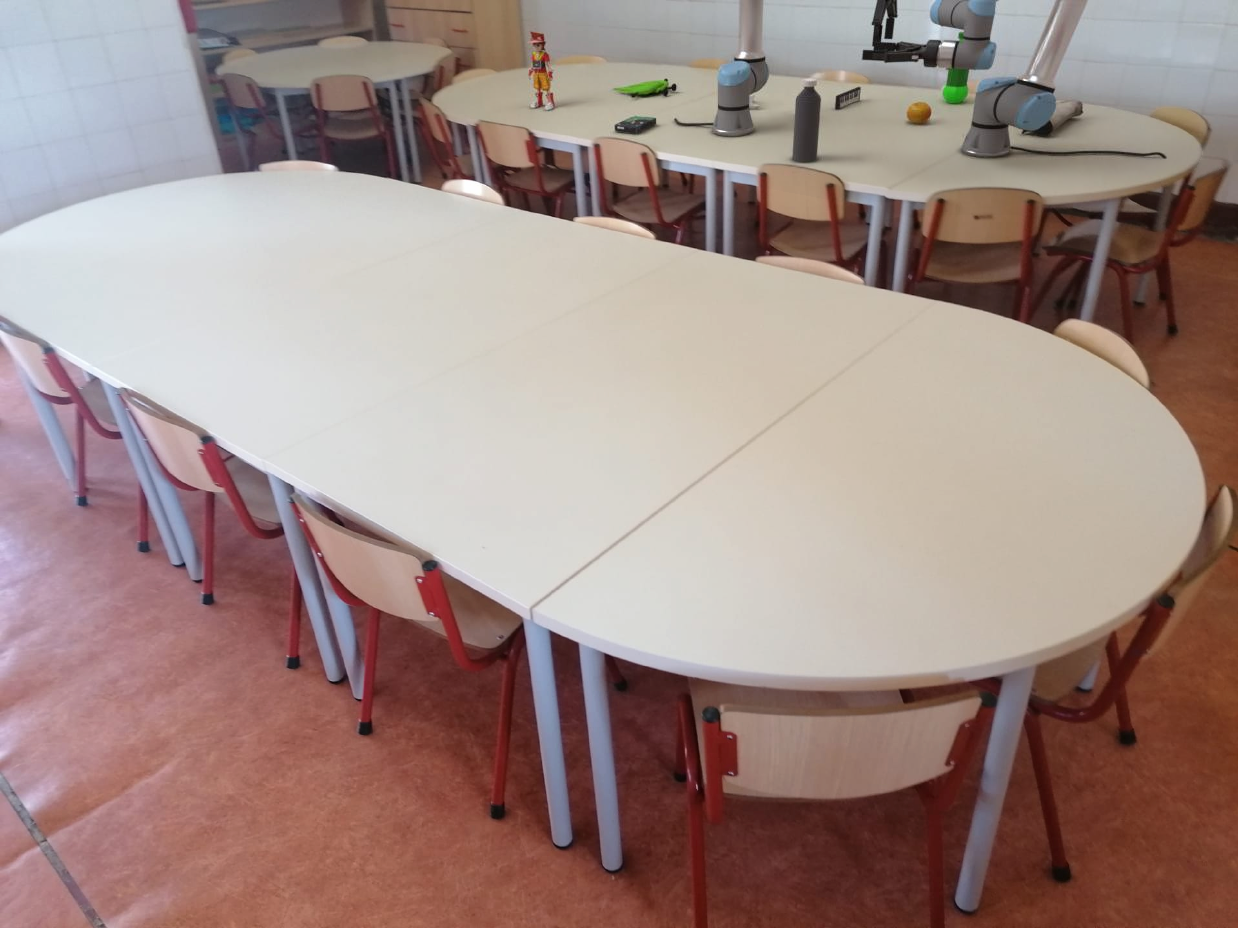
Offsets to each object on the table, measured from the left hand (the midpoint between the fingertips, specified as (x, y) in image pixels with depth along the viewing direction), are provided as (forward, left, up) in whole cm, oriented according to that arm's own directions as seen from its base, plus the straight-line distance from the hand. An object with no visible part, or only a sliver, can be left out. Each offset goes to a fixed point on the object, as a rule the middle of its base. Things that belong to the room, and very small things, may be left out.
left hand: (882, 43), depth 307 cm
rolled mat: (+56, +30, -30) cm, 70 cm away
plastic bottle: (+16, +54, -30) cm, 64 cm away
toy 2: (-115, +32, -30) cm, 123 cm away
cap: (-12, -37, -5) cm, 39 cm away
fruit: (+11, +20, -30) cm, 38 cm away
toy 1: (-142, -6, -30) cm, 145 cm away
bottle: (-12, -37, -30) cm, 49 cm away
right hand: (+7, -38, +4) cm, 39 cm away
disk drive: (-86, -22, -30) cm, 94 cm away
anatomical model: (-61, +23, -30) cm, 72 cm away
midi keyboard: (-22, +38, -30) cm, 53 cm away
